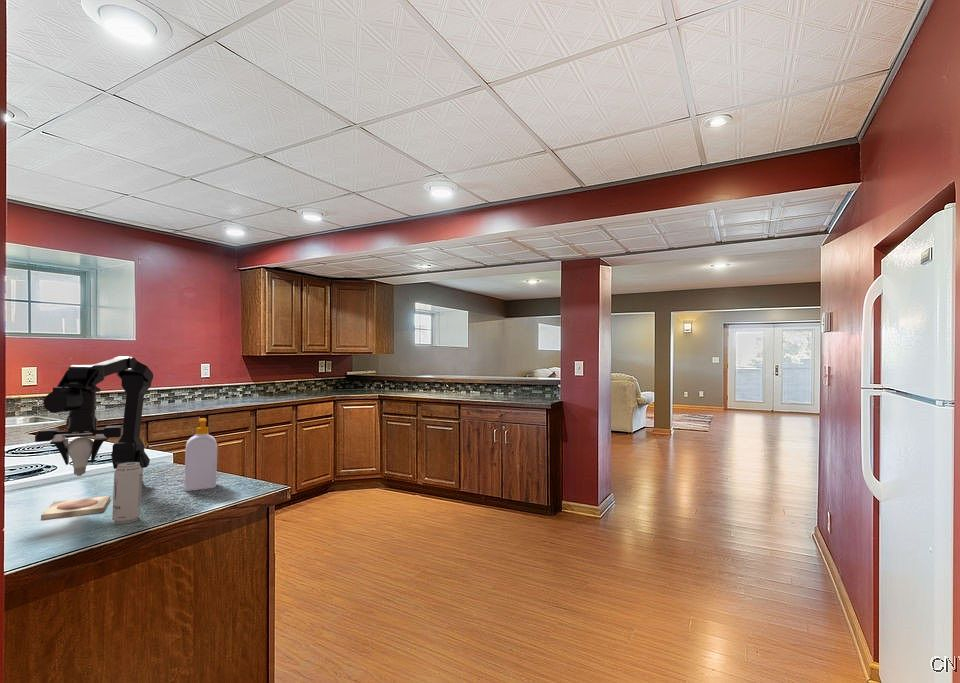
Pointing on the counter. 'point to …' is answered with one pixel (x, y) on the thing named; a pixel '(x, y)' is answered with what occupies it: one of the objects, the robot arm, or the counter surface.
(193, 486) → the soap bottle
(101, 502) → the birch board
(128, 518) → the energy drink can
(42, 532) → the counter surface
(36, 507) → the counter surface
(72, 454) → the lightbulb
